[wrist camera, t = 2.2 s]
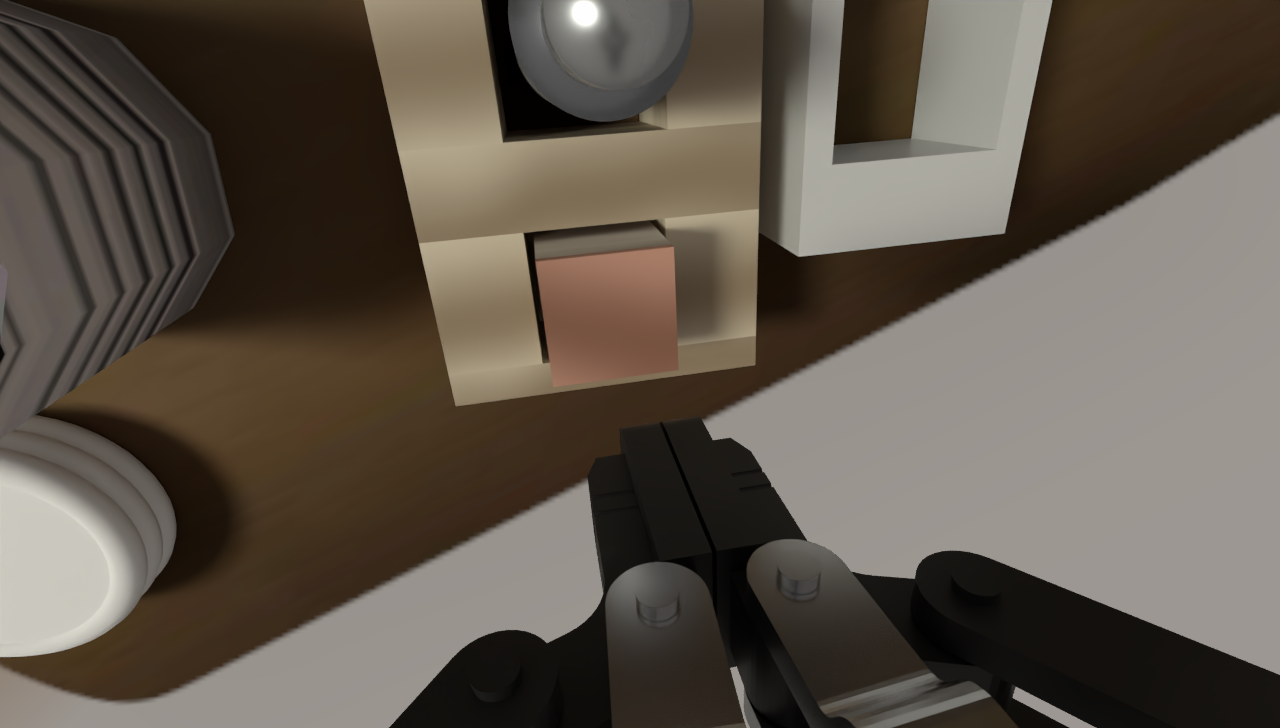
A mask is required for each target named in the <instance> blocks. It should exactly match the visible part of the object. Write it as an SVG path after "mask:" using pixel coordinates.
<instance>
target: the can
mask: <svg viewBox="0 0 1280 728" xmlns="http://www.w3.org/2000/svg"><path fill="white" fill-rule="evenodd" d="M234 236H235V231H234V227H233V223H232V219H231V215H230V211H229V207H228V203H227V198H226V194H225V190H224V186H223V182H222V178H221V174H220V169H219V165H218V161H217V157H216V153H215V149H214V145H213V141H212V136H211V134H210V133H209V132H208V131H207V130H206V129H205V128H204V127H203V125H202V124H201V123H200V122H199V121H198V120H197V119H196V118H195V117H194V116H193V115H192V114H191V113H190V112H189V111H188V110H187V109H186V108H185V107H184V106H183V105H182V104H181V103H180V102H179V101H178V100H177V99H176V98H175V97H174V96H173V95H172V94H171V93H170V92H169V91H168V90H167V89H166V88H165V86H164V85H163V84H162V83H161V82H160V81H159V80H158V79H157V78H156V77H155V76H154V75H153V74H152V73H151V72H150V71H149V70H148V69H147V68H146V67H145V66H144V65H143V64H142V63H141V62H140V61H139V60H138V59H137V58H136V57H135V56H134V55H133V54H132V53H131V52H130V51H129V50H128V49H127V47H126V46H125V45H124V44H123V43H122V42H121V41H120V40H119V39H118V38H116V37H113V36H110V35H107V34H104V33H101V32H99V31H96V30H93V29H90V28H87V27H84V26H81V25H78V24H75V23H73V22H70V21H67V20H64V19H61V18H58V17H55V16H52V15H50V14H47V13H44V12H41V11H38V10H35V9H32V8H29V7H26V6H24V5H21V4H18V3H15V2H12V1H9V0H0V439H1V438H2V437H4V436H5V435H7V434H8V433H10V432H11V431H12V430H14V429H15V428H17V427H18V426H20V425H21V424H23V423H24V422H26V421H27V420H29V419H30V418H32V417H33V416H35V415H36V414H38V413H39V412H41V411H42V410H44V409H45V408H47V407H48V406H49V405H51V404H52V403H54V402H55V401H57V400H58V399H60V398H61V397H63V396H64V395H66V394H67V393H69V392H70V391H72V390H73V389H75V388H76V387H78V386H79V385H81V384H82V383H83V382H85V381H86V380H88V379H89V378H91V377H92V376H94V375H95V374H97V373H98V372H100V371H101V370H103V369H104V368H106V367H107V366H109V365H110V364H112V363H113V362H115V361H116V360H118V359H119V358H120V357H122V356H123V355H125V354H126V353H128V352H129V351H131V350H132V349H134V348H135V347H137V346H138V345H140V344H141V343H143V342H144V341H146V340H147V339H149V338H150V337H152V336H153V335H154V334H156V333H157V332H159V331H160V330H162V329H163V328H165V327H166V326H168V325H169V324H171V323H172V322H174V321H175V320H177V319H178V318H180V317H181V316H183V315H184V314H186V313H187V312H189V311H190V310H191V309H193V308H194V307H195V305H196V304H197V302H198V300H199V298H200V296H201V295H202V293H203V291H204V289H205V288H206V286H207V284H208V282H209V280H210V279H211V277H212V275H213V273H214V272H215V270H216V268H217V266H218V264H219V263H220V261H221V259H222V257H223V256H224V254H225V252H226V250H227V248H228V247H229V245H230V243H231V241H232V240H233V238H234Z"/></svg>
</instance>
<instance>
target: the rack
mask: <svg viewBox="0 0 1280 728" xmlns="http://www.w3.org/2000/svg"><path fill="white" fill-rule="evenodd" d="M1051 5H1052V0H929V4H928V12H927V20H926V28H925V35H924V43H923V51H922V59H921V67H920V75H919V82H918V90H917V98H916V106H915V114H914V122H913V129H912V137H911V138H910V139H898V140H887V141H876V142H864V143H853V144H842V145H834V133H835V120H836V107H837V93H838V80H839V66H840V53H841V40H842V26H843V13H844V0H764V20H763V61H762V103H761V144H760V185H759V227H758V232H759V233H761V234H763V235H764V236H766V237H767V238H769V239H771V240H772V241H774V242H775V243H777V244H779V245H780V246H782V247H784V248H785V249H787V250H788V251H790V252H792V253H793V254H795V255H796V256H798V257H802V256H810V255H819V254H828V253H837V252H846V251H854V250H863V249H872V248H881V247H890V246H898V245H907V244H916V243H925V242H934V241H942V240H951V239H960V238H969V237H978V236H986V235H995V234H1004V233H1005V229H1006V224H1007V220H1008V215H1009V210H1010V205H1011V200H1012V195H1013V190H1014V185H1015V181H1016V176H1017V171H1018V166H1019V161H1020V156H1021V151H1022V146H1023V141H1024V137H1025V132H1026V127H1027V122H1028V117H1029V112H1030V107H1031V102H1032V98H1033V93H1034V88H1035V83H1036V78H1037V73H1038V68H1039V63H1040V59H1041V54H1042V49H1043V44H1044V39H1045V34H1046V29H1047V24H1048V20H1049V15H1050V10H1051Z"/></svg>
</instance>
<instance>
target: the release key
mask: <svg viewBox="0 0 1280 728" xmlns="http://www.w3.org/2000/svg"><path fill="white" fill-rule="evenodd" d="M533 233H534V248H535V262H536V269H537V276H538V283H539V290H540V297H541V304H542V311H543V318H544V325H545V332H546V339H547V346H548V353H549V360H550V367H551V375H552V382H553V387H558V386H566V385H573V384H580V383H588V382H595V381H602V380H610V379H617V378H624V377H632V376H639V375H646V374H654V373H661V372H668V371H676V370H679V366H678V340H677V314H676V288H675V262H674V246H673V245H672V244H671V243H670V242H669V241H668V240H667V239H666V238H665V237H664V236H663V235H662V234H661V233H660V232H659V230H658V229H657V228H656V227H655V226H654V225H653V224H652V223H651V222H650V221H649V220H645V221H635V222H625V223H615V224H605V225H596V226H586V227H576V228H566V229H556V230H546V231H536V232H533Z"/></svg>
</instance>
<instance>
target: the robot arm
mask: <svg viewBox="0 0 1280 728" xmlns="http://www.w3.org/2000/svg"><path fill="white" fill-rule="evenodd" d="M620 444H621V454H620V455H613V456H607V457H600V458H596V460H595V462H594V464H593V466H592V468H591V470H590V472H589V474H588V484H589V492H590V501H591V509H592V518H593V525H594V534H595V543H596V549H597V556H598V562H599V568H600V575H601V581H602V588H603V597H602V599H601V602H600V604H599V605H598V607H597V609H596V610H595V611H594V613H593V614H592V615H591V616H590V617H589V618H588V619H587V620H586V621H585V622H584V623H583V624H582V625H580V626H579V627H577V628H576V629H574V630H572V631H571V632H569V633H567V634H565V635H563V636H561V637H559V638H557V639H555V640H553V641H551V642H549V643H546V642H545V641H544V640H542V639H541V638H539V637H538V636H536V635H534V634H531V633H529V632H525V631H519V630H505V631H498V632H495V633H491V634H488V635H485V636H483V637H481V638H478V639H477V640H475V641H473V642H471V643H470V644H468V645H467V646H465V647H464V648H463V649H462V650H460V651H459V652H458V653H457V654H456V655H455V656H454V657H453V658H452V659H451V660H450V662H449V663H448V664H447V665H446V666H445V667H444V668H443V669H442V670H441V671H440V672H439V674H438V675H437V676H436V677H435V678H434V679H433V680H432V681H431V682H430V683H429V685H428V686H427V687H426V688H425V689H424V690H423V691H422V692H421V693H420V695H419V696H418V697H417V698H416V699H415V700H414V701H413V702H412V703H411V704H410V705H409V706H408V708H407V709H406V710H405V711H404V712H403V713H402V714H401V715H400V716H399V717H398V719H397V720H396V721H395V722H394V723H393V724H392V725H391V726H390V727H389V728H746V725H745V722H744V719H743V715H742V712H741V708H740V704H739V700H738V696H737V693H736V689H735V685H734V681H733V678H732V674H731V670H730V668H731V667H736V666H737V668H738V671H739V674H740V676H741V679H742V682H743V684H744V712H745V716H746V719H747V722H748V724H749V726H750V728H1069V727H1067V726H1065V725H1063V724H1061V723H1059V722H1057V721H1055V720H1053V719H1051V718H1050V717H1048V716H1046V715H1044V714H1042V713H1040V712H1038V711H1036V710H1034V709H1032V708H1030V707H1029V706H1027V705H1025V704H1023V703H1021V702H1019V701H1017V700H1015V699H1013V698H1012V697H1013V693H1014V690H1015V687H1018V688H1020V689H1022V690H1024V691H1026V692H1028V693H1030V694H1032V695H1034V696H1035V697H1037V698H1039V699H1041V700H1043V701H1045V702H1047V703H1049V704H1051V705H1053V706H1055V707H1057V708H1059V709H1061V710H1063V711H1065V712H1067V713H1069V714H1071V715H1073V716H1075V717H1077V718H1078V719H1080V720H1082V721H1084V722H1086V723H1088V724H1090V725H1092V726H1094V727H1097V728H1280V675H1278V674H1276V673H1273V672H1271V671H1268V670H1266V669H1263V668H1261V667H1258V666H1256V665H1253V664H1251V663H1248V662H1246V661H1243V660H1241V659H1238V658H1236V657H1234V656H1231V655H1229V654H1226V653H1224V652H1221V651H1219V650H1216V649H1214V648H1211V647H1208V646H1206V645H1204V644H1201V643H1199V642H1196V641H1194V640H1191V639H1188V638H1186V637H1184V636H1181V635H1179V634H1176V633H1174V632H1171V631H1169V630H1166V629H1164V628H1162V627H1159V626H1157V625H1154V624H1151V623H1149V622H1146V621H1144V620H1141V619H1139V618H1137V617H1134V616H1132V615H1129V614H1127V613H1124V612H1122V611H1119V610H1117V609H1114V608H1112V607H1109V606H1107V605H1104V604H1102V603H1099V602H1097V601H1094V600H1092V599H1089V598H1087V597H1084V596H1082V595H1079V594H1077V593H1075V592H1072V591H1069V590H1067V589H1065V588H1062V587H1059V586H1057V585H1055V584H1052V583H1050V582H1047V581H1045V580H1042V579H1040V578H1037V577H1035V576H1032V575H1030V574H1027V573H1025V572H1022V571H1020V570H1017V569H1015V568H1012V567H1010V566H1007V565H1005V564H1002V563H1000V562H997V561H995V560H992V559H990V558H987V557H984V556H981V555H978V554H974V553H970V552H963V551H942V552H938V553H934V554H932V555H929V556H927V557H926V558H925V559H923V560H922V561H921V563H920V564H919V565H918V568H917V570H916V576H915V579H908V578H896V577H883V576H872V575H864V574H859V573H855V572H851V571H850V570H849V568H848V567H847V566H846V564H845V563H844V562H843V561H842V560H841V559H840V558H839V557H838V556H837V555H836V554H834V553H833V552H832V551H830V550H828V549H827V548H825V547H822V546H820V545H818V544H815V543H812V542H809V541H807V540H806V538H805V536H804V535H803V533H802V532H801V530H800V529H799V527H798V525H797V524H796V522H795V521H794V519H793V518H792V516H791V514H790V513H789V511H788V509H787V508H786V506H785V505H784V503H783V502H782V500H781V498H780V497H779V495H778V494H777V492H776V490H775V489H774V488H773V487H771V483H770V481H769V480H768V478H767V476H766V475H765V473H764V472H762V468H761V467H760V465H759V464H758V462H757V460H756V459H755V457H754V456H753V454H752V453H751V451H749V450H748V449H746V448H745V447H744V446H742V445H741V444H739V443H738V442H736V441H734V440H733V439H731V438H726V439H720V440H712V438H711V436H710V434H709V432H708V431H707V429H706V427H705V425H704V423H703V421H702V420H701V418H700V417H699V416H695V417H688V418H681V419H674V420H667V421H661V422H660V424H659V422H654V423H647V424H640V425H633V426H626V427H620Z"/></svg>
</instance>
